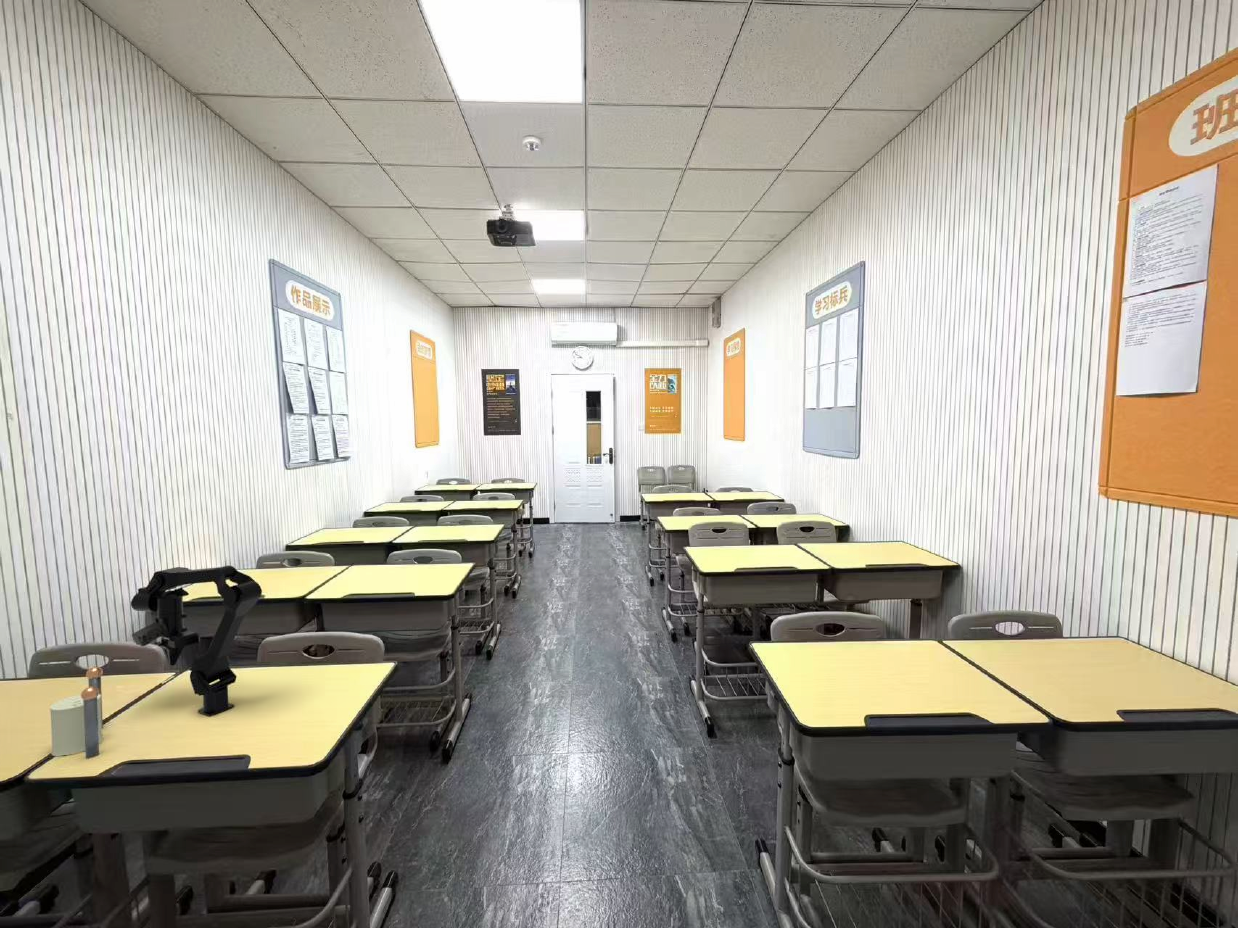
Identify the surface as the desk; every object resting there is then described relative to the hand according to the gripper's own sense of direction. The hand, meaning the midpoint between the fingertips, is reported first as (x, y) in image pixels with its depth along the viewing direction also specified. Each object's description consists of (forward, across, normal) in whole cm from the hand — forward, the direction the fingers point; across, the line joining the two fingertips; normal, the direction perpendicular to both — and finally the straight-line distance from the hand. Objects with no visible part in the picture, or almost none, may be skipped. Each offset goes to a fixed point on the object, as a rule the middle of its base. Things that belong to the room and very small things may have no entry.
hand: (172, 665), depth 157 cm
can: (+12, +4, -22) cm, 25 cm away
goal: (+12, +5, -19) cm, 23 cm away
